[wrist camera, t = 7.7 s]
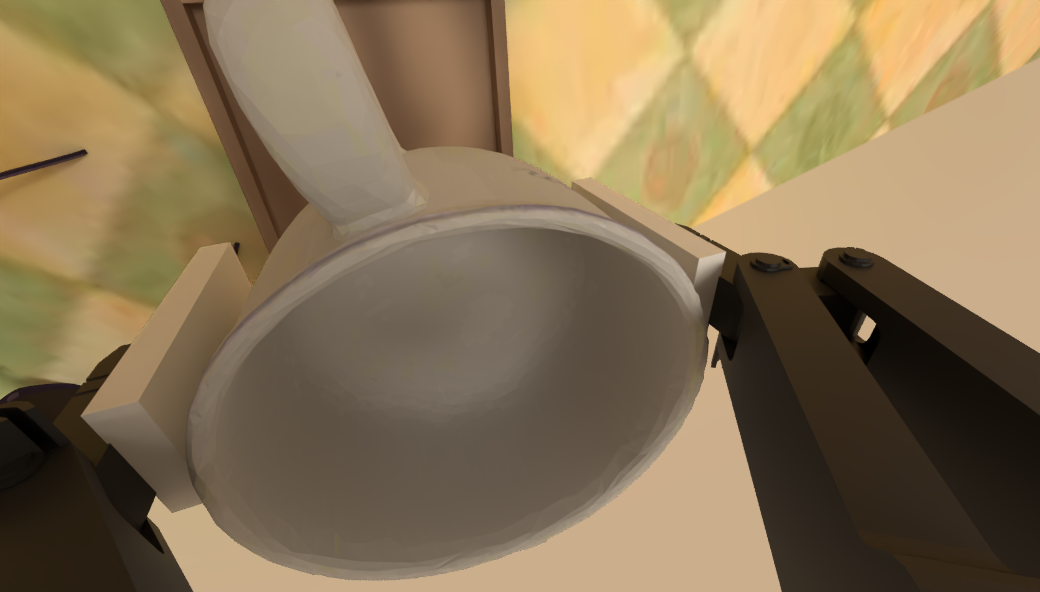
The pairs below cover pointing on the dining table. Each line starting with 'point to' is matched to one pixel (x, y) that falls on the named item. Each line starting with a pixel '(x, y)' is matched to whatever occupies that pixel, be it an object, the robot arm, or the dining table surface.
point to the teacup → (424, 335)
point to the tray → (374, 87)
